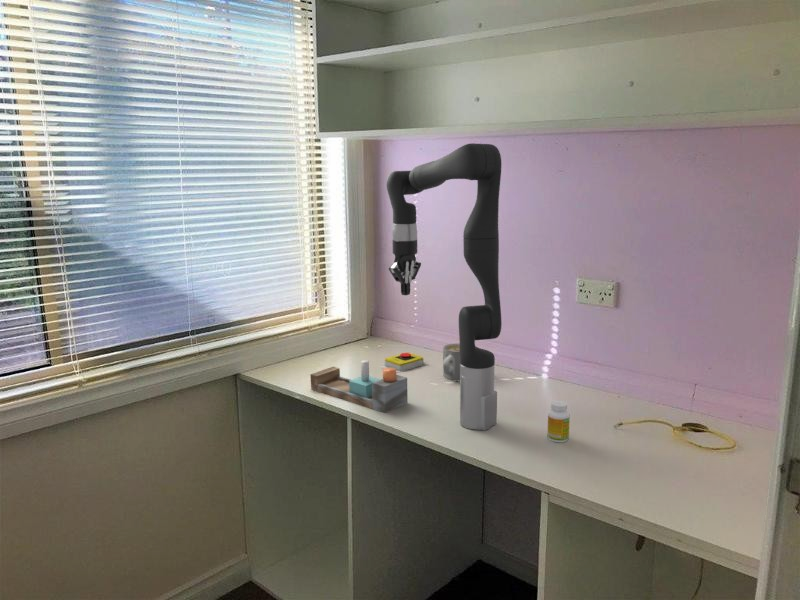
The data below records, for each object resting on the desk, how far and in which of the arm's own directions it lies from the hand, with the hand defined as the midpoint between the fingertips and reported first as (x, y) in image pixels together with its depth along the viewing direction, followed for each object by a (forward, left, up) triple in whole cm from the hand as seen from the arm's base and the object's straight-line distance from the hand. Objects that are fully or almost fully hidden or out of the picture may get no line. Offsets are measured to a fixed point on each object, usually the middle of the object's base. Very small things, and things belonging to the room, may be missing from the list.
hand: (405, 294), depth 202 cm
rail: (+10, +13, -31) cm, 35 cm away
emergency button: (+18, -19, -32) cm, 41 cm away
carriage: (+5, +13, -29) cm, 32 cm away
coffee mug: (-4, -20, -31) cm, 37 cm away
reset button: (-5, +13, -23) cm, 27 cm away
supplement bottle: (-54, +3, -31) cm, 62 cm away
